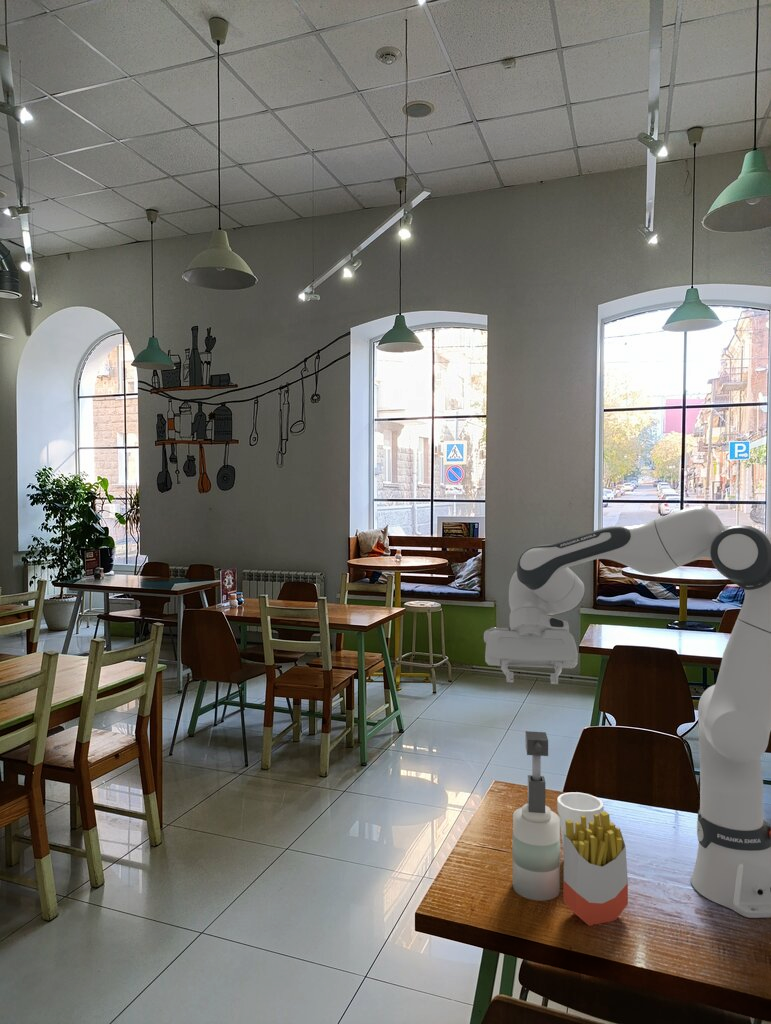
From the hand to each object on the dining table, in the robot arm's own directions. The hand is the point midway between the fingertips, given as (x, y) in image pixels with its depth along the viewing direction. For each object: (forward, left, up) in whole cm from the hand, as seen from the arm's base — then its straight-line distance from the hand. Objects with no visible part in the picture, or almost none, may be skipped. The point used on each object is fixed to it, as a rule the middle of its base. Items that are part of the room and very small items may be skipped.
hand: (532, 681), depth 144 cm
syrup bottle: (0, +12, -38) cm, 40 cm away
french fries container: (-10, +20, -38) cm, 44 cm away
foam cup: (-10, +1, -38) cm, 39 cm away
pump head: (0, +14, -17) cm, 22 cm away
